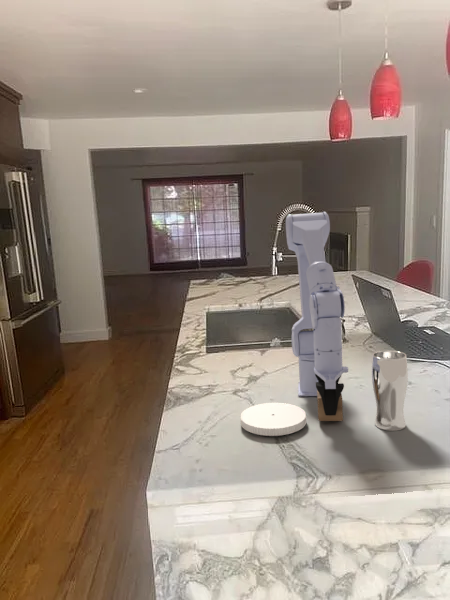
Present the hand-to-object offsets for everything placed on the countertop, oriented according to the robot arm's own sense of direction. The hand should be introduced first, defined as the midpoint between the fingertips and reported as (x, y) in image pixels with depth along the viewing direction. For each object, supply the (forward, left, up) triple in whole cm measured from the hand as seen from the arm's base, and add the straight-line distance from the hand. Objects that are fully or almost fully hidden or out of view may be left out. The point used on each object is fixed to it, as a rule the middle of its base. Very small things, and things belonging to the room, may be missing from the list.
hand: (329, 409), depth 106 cm
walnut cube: (0, 0, -2) cm, 2 cm away
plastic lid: (+2, -12, -3) cm, 13 cm away
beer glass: (+2, +12, -3) cm, 12 cm away
